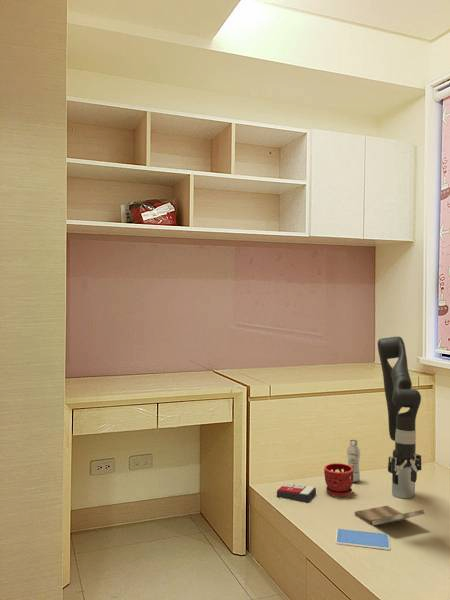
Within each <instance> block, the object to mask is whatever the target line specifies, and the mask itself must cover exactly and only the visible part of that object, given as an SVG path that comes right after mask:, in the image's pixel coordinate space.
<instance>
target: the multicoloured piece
mask: <svg viewBox="0 0 450 600" xmlns="http://www.w3.org/2000/svg"><path fill="white" fill-rule="evenodd" d="M316 496H317V489H316V486H311V485H305V484H295V483H290V482H289V483H288V482H285V483H284V484H282V485H281V486H280V487H279V488H278V489H277V490H276V498H281V499H285V500H291V501H298V502H302V503H306V504H309V503H310V502H312V500H314V498H315V497H316Z"/></svg>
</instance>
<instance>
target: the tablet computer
mask: <svg viewBox="0 0 450 600" xmlns="http://www.w3.org/2000/svg"><path fill="white" fill-rule="evenodd" d="M335 535H336V536H335V544H336V545H341V546H349V547H360V548H367V549H376V550H384V551H385V550H386V551H390V550H391V544H390V543H391V542H390V535H389V534H387V533H381V532H373V531H372V532H371V531H365V530H363V531H362V530H353V529H344V528H336V534H335Z"/></svg>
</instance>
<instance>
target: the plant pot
mask: <svg viewBox="0 0 450 600" xmlns="http://www.w3.org/2000/svg"><path fill="white" fill-rule="evenodd" d="M337 470H338V471H337ZM342 470H343V471H342ZM323 473H324V474H323V475H324V480H325V484H326V492H327V493H328V494H330V495H332V496H335V497H347V496H350V495H351V493H352V492H353V489H352V486H353V483H354V482H353V468H352V467H351V466H349V465H348V464H346V463H341V462H339V463H338V462H333V463H328V464H326V465H325V466H324V468H323ZM350 476H351V479H350Z"/></svg>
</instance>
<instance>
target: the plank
mask: <svg viewBox="0 0 450 600" xmlns="http://www.w3.org/2000/svg"><path fill="white" fill-rule="evenodd" d="M421 515H425V511H424V509H420V510H415V511H410V512H404V513H402V514H398V515H393V516H389V517H386V518H382V519H378V520H375V521H372V526H376V525H381V524H386V523H391V522H395V521H401V520H405V519H410V518H413V517H419V516H421Z"/></svg>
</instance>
